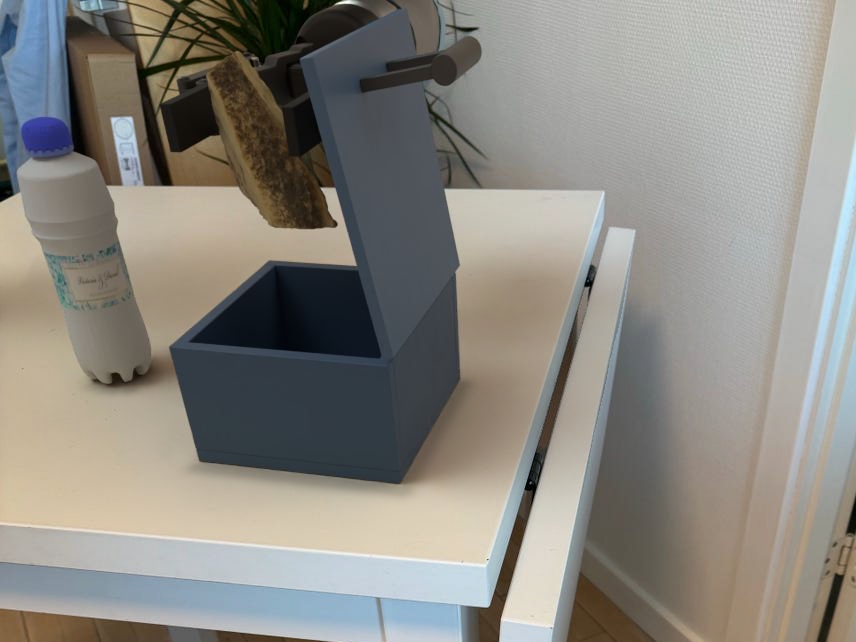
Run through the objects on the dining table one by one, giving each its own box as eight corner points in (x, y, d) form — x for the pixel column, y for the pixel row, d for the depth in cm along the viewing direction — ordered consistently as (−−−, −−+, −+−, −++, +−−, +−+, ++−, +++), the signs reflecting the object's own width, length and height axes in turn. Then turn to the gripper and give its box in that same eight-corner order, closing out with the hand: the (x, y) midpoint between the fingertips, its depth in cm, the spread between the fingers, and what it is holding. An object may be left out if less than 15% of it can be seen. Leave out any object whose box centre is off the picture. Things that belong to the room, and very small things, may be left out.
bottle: (93, 397, 77) (4, 133, 63) (72, 368, 81) (-16, 115, 67) (170, 375, 79) (100, 118, 66) (145, 349, 83) (75, 102, 70)
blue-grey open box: (198, 461, 68) (168, 346, 62) (287, 363, 80) (268, 259, 74) (400, 484, 65) (388, 366, 59) (460, 378, 77) (455, 272, 71)
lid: (298, 58, 48) (418, 32, 46) (396, 9, 61) (494, -13, 58) (382, 360, 59) (482, 350, 57) (450, 266, 71) (535, 256, 69)
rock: (198, 155, 66) (157, 173, 57) (253, 40, 62) (217, 42, 53) (327, 248, 69) (306, 278, 61) (387, 145, 65) (373, 162, 57)
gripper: (478, 115, 73) (391, 202, 56) (246, 109, 77) (102, 188, 60) (475, 2, 68) (379, 61, 51) (227, 2, 72) (64, 57, 55)
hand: (230, 130), depth 56 cm, fingers closed on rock, 7 cm apart
